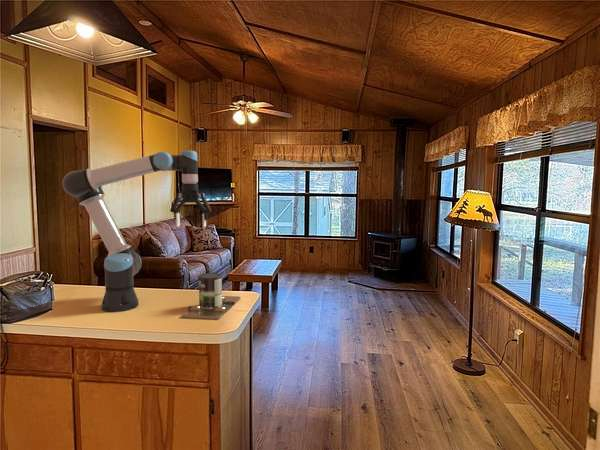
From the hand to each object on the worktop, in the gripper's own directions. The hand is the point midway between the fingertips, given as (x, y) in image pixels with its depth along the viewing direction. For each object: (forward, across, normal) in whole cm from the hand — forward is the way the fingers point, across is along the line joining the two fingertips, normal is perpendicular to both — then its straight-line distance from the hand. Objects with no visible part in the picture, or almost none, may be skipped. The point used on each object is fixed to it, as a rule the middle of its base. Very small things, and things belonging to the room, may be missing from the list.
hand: (191, 226), depth 195 cm
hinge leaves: (+35, -17, +18) cm, 42 cm away
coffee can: (+35, -15, +16) cm, 41 cm away
